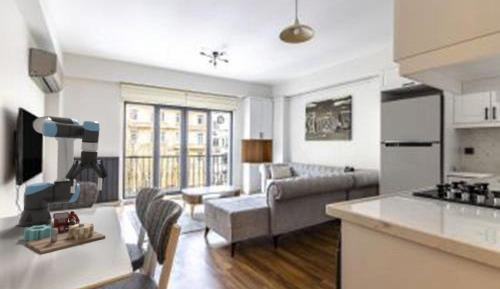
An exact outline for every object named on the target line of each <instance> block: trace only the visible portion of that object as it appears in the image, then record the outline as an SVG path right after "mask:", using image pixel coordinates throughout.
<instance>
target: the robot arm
mask: <svg viewBox="0 0 500 289" xmlns="http://www.w3.org/2000/svg"><path fill="white" fill-rule="evenodd" d="M32 128H33V129H34V131H35V132H37V133H39V134H42V136H44V137H45V138H54V139H55V140H56V141H57V162H56V163H57V168H56V170H57V171H56V179H55V180H54V181H53V184H52V183H51V182H49V181H46V182H45V181H43V182H35V183H30V184H28V185H27V186H26V187H25V188H24V194H23V195H24V201H23V212H22V213H21V216H20V218H19V220H18V226H19V227H25V228H30V227H32V226H35V225H36V226H41V225H46V226H47V225H48V224H49V225H50V224H51V223H53V222H52V220H53V216H51V215H52V214H51V212H50V205H53V204H55V205H56V204H67V203H68V204H69V203H74V202H76V201H77V199H78V198H79V195H80V191H81V187H80V185H81V184H80V183H78V182H77V179H76V178H77V177H78V176H79V174H81V172H83V171H84V170H88V169H89V170H90V169H91V170H93V171H95V173H96V174H97V176H98V178H97V191H102V190H103V189H102V188H103V184H104V180H105V179H106V178H107V177H108V173H107V170H106V168H105V166H104V160H102V159H98V150H99V149H98V148H99V140H100V139H99V138H100V130H101V128H100V123H99V121H89V120H88V121H87V120H85V121H83V122H82V124H80V122H79V121H78V120H77V119H76V118H70V117H63V116H62V117H61V116H60V117H58V116H52V115H46V116H39V117H37V118H35V119H34V120H33V121H32ZM76 140H81V148H80V150H81V151H80V160H77V159H74V158H75V156H74V155H75V152H74V151H75V141H76ZM97 159H98V160H97ZM97 165H98V166H97Z"/></svg>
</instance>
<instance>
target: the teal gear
mask: <svg viewBox="0 0 500 289" xmlns="http://www.w3.org/2000/svg"><path fill="white" fill-rule="evenodd" d="M51 229H53V226H52V224H51V225H50V224H49V225H47V224H46V225H41V226H36V225H35V226H32V227H25V228H24V230H23V242H29V241H34V240H38V239H43V238H48V237H51Z"/></svg>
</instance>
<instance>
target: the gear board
mask: <svg viewBox="0 0 500 289" xmlns="http://www.w3.org/2000/svg"><path fill="white" fill-rule="evenodd" d="M94 228H95V226H94V223H87V222H83V223H79V224H75V225H73V226H69V229H68V231H67V233H63V234H62V233H61V234H59V233H58V229H57V228H54V229H53V228H52V229H51V237H48V238H43V239H38V240H34V241H29V240H28V241H25V246H27V247H29V249H32V250H34V251H35V252H37V253H38V254H40V255H42V254H47V253H50V252H55V251H58V250H62V249H67V248H71V247H75V246H78V245H84V244H87V243H90V242H91V243H92V242H94V241H98V240H99V241H100V240H103V239H106V235H104V234H102V233H101V232H97V231H95V229H94Z"/></svg>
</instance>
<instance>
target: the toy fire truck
mask: <svg viewBox="0 0 500 289" xmlns="http://www.w3.org/2000/svg"><path fill="white" fill-rule="evenodd" d="M52 219H53V226H52V229H54V228H57V229H58V234H62V233H63V234H64V233H65V232H66V230H67V229H69V226H73V225H75V224H81V223H80V221H81V220H80V218H79V216H78V215H77V213H75V211H74V210H70V212H69V211H64V212H55V213H53V214H52Z"/></svg>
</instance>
